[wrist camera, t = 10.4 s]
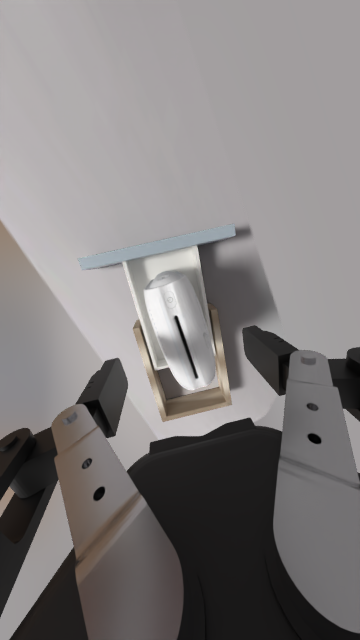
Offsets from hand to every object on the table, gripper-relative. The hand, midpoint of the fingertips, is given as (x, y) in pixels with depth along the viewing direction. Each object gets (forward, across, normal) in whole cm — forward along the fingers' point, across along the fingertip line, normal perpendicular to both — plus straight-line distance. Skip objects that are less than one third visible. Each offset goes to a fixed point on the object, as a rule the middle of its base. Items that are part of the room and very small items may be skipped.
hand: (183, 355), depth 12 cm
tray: (+15, 0, +1) cm, 15 cm away
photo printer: (+14, 0, +1) cm, 14 cm away
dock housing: (+15, 0, +9) cm, 17 cm away
